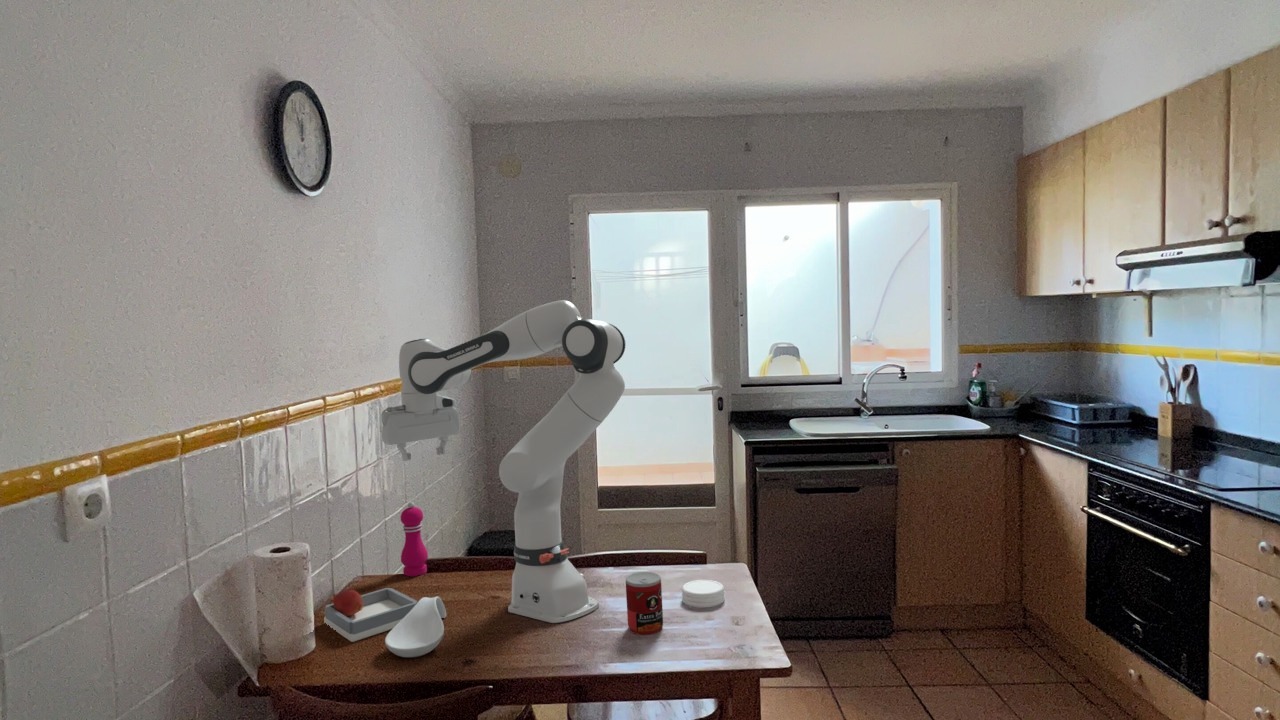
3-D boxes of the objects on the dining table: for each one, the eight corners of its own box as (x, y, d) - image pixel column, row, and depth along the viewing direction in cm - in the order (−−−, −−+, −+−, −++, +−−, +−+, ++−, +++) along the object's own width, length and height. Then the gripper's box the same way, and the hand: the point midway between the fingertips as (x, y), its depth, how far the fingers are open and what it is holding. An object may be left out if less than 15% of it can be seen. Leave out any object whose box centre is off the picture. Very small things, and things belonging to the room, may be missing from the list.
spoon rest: (438, 663, 144) (435, 627, 144) (378, 667, 144) (376, 632, 143) (461, 617, 168) (459, 586, 168) (409, 620, 167) (407, 590, 167)
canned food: (638, 638, 151) (635, 586, 150) (621, 625, 158) (619, 576, 157) (670, 630, 154) (667, 579, 154) (652, 617, 161) (650, 569, 161)
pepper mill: (432, 568, 204) (428, 498, 204) (422, 577, 197) (418, 504, 197) (408, 568, 205) (404, 499, 204) (397, 577, 198) (392, 505, 197)
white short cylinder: (706, 590, 177) (706, 576, 177) (733, 601, 169) (732, 586, 169) (673, 600, 172) (673, 585, 172) (699, 612, 163) (698, 597, 163)
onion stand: (420, 619, 167) (419, 602, 167) (352, 642, 156) (350, 623, 156) (390, 603, 179) (389, 587, 178) (324, 623, 168) (323, 606, 167)
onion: (366, 614, 170) (335, 604, 171) (372, 591, 169) (341, 581, 170) (353, 624, 164) (321, 614, 165) (359, 600, 164) (327, 590, 165)
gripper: (386, 408, 174) (391, 465, 174) (461, 399, 188) (465, 451, 189) (375, 407, 178) (379, 463, 179) (449, 398, 193) (452, 450, 193)
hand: (424, 457), depth 184 cm, fingers open, 8 cm apart
